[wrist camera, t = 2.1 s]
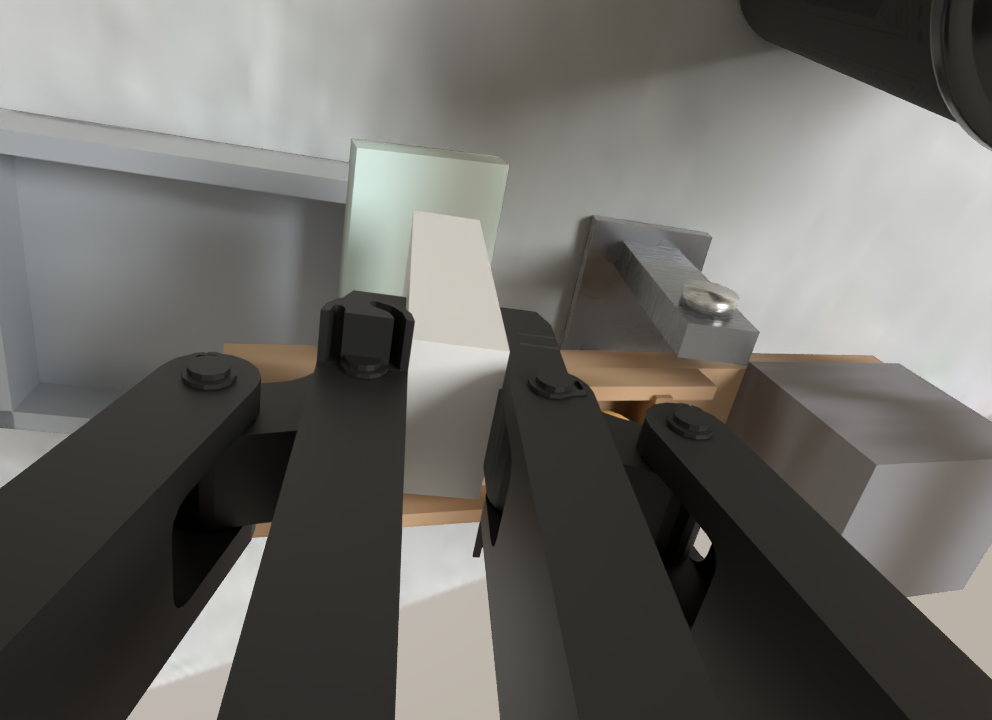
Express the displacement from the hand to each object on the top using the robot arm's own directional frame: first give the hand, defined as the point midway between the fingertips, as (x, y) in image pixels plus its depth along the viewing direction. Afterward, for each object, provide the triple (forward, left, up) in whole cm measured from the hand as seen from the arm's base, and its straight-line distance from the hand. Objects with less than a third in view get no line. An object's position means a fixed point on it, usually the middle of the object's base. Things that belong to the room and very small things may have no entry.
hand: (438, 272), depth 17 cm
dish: (-9, -7, -13) cm, 17 cm away
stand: (+9, -7, -13) cm, 17 cm away
